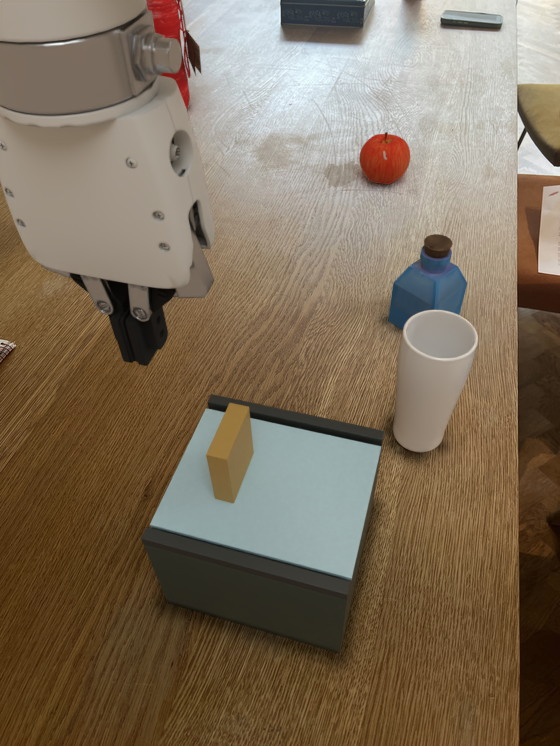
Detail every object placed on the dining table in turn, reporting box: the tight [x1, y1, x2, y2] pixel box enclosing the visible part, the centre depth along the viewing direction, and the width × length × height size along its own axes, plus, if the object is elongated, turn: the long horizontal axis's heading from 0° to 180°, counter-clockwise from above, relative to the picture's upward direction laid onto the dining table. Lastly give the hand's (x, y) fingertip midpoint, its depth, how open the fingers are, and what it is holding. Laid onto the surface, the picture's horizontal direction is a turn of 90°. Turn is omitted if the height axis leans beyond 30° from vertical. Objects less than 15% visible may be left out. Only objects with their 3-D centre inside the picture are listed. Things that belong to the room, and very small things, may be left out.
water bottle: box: [146, 0, 202, 110], centre depth 111 cm, size 12×8×25 cm, turn 82°
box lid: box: [149, 403, 382, 580], centre depth 46 cm, size 16×12×6 cm
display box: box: [140, 393, 385, 654], centre depth 53 cm, size 16×15×12 cm
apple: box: [358, 131, 411, 185], centre depth 98 cm, size 8×8×8 cm
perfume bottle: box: [387, 233, 468, 331], centre depth 73 cm, size 6×6×12 cm
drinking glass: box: [392, 310, 479, 453], centre depth 60 cm, size 7×7×15 cm
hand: (145, 348), depth 41 cm, fingers closed
